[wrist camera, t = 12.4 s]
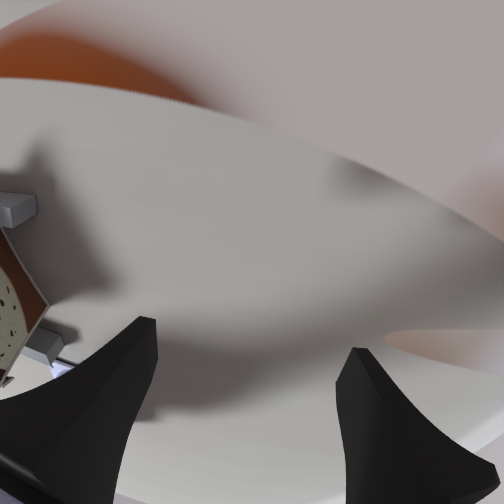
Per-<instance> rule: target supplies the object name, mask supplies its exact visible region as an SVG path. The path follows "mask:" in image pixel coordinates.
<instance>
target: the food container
mask: <svg viewBox="0 0 504 504" xmlns="http://www.w3.org/2000/svg"><path fill="white" fill-rule="evenodd" d="M49 308H50V304H49V303H48V301H47V300H46V299H45V297H44V296H43V294H42V293H41V291H40V290H39V288H38V287H37V285H36V284H35V282H34V280H33V279H32V277H31V276H30V274H29V273H28V271H27V269H26V268H25V266H24V264H23V263H22V261H21V259H20V258H19V256H18V254H17V252H16V251H15V249H14V247H13V245H12V244H11V242H10V240H9V238H8V236H7V234H6V232H5V230H4V229H3V227H2V226H0V388H4V387H5V386H6V385H7V384H9V383H10V382H11V381H12V380H13V379H14V377H7V375H8V373H9V371H10V369H11V368H12V366H13V364H14V362H15V361H16V359H17V357H18V356H19V354H20V352H21V351H22V349H23V347H24V346H25V344H26V343H27V341H28V339H29V338H30V336H31V335H32V333H33V332H34V330H35V328H36V327H37V325H38V324H39V322H40V321H41V319H42V318H43V316H44V315H45V314H46V312H47V311H48V309H49Z"/></svg>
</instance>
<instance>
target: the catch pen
mask: <svg viewBox="0 0 504 504" xmlns="http://www.w3.org/2000/svg"><path fill="white" fill-rule="evenodd" d="M36 214H37V208H36V196H35V195H30V194H19V193H9V192H0V226H2V227H7V228H12V229H13V228H15V227H16V226H18V225H19V224H21V223H23V222H24V221H26V220H28V219H29V218H31V217H33V216H34V215H36ZM63 348H64V343H63V339H62V336H61V335H60V334H57V333H54V332H52V331H49V330H46V329H43V328H41V327H38V326H37V327H36V328H35V330H34V332H33V333H32V335H31V336H30V338H29V339H28V341H27V343H26V344H25V346H24V347H23V349H22V351H21V352H20V353H21V354H23V355H25V356H27V357H30V358H32V359H34V360H37V361H39V362H41V363H44V364H46V365H49V366H51V365H52V363H53V362H54V360H55V359H56V358H57V356H58V355H59V353H60V352H61V350H62V349H63Z"/></svg>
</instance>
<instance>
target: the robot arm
mask: <svg viewBox="0 0 504 504" xmlns="http://www.w3.org/2000/svg"><path fill="white" fill-rule="evenodd" d="M157 361H158V350H157V335H156V319H152V318H147V317H143V316H139V317H138V318H137V319H135V320H134V321H133V322H132V323H131V324H129V325H128V326H127V327H126V328H125V329H124V330H122V331H121V332H120V333H119V334H118V335H117V336H115V337H114V338H113V339H112V340H110V341H109V342H108V343H107V344H105V345H104V346H103V347H102V348H101V349H99V350H98V351H97V352H95V353H94V354H92V355H91V356H90V357H88V358H87V359H86V360H84V361H83V362H81V363H80V364H78V365H77V366H75V367H74V366H71V365H68V364H66V363H63V362H60V361H58V360H54V362H53V363H52V365H51V366H49V367H50V369H51V372H52V374H53V377H54V379H53V380H51V381H49V382H47V383H45V384H43V385H41V386H39V387H37V388H34V389H32V390H29V391H27V392H24V393H22V394H19V395H16V396H13V397H10V398H7V399H3V400H0V504H113V499H114V493H115V488H116V483H117V478H118V474H119V470H120V465H121V461H122V457H123V453H124V450H125V446H126V443H127V439H128V436H129V433H130V430H131V428H132V425H133V423H134V420H135V418H136V416H137V413H138V411H139V409H140V407H141V404H142V402H143V400H144V397H145V395H146V393H147V390H148V388H149V386H150V384H151V381H152V378H153V374H154V371H155V368H156V364H157ZM336 405H337V412H338V418H339V424H340V429H341V435H342V441H343V447H344V453H345V462H346V504H475V503H477V502H478V501H480V500H481V499H483V498H484V497H485V496H487V495H489V494H490V493H491V492H493V491H494V490H495V489H496V488H497V487H498V486H499V485H500V479H499V476H498V474H497V471H496V468H495V465H494V464H492V463H490V462H488V461H486V460H484V459H482V458H480V457H478V456H476V455H474V454H473V453H471V452H469V451H468V450H466V449H465V448H463V447H462V446H460V445H459V444H457V443H456V442H454V441H453V440H452V439H450V438H449V437H448V436H446V435H445V434H444V433H443V432H441V431H440V430H439V429H438V428H437V427H435V426H434V425H433V424H432V423H431V422H430V421H429V420H428V419H427V418H426V417H425V416H424V415H423V414H422V413H421V412H420V411H419V410H418V409H417V408H416V407H415V406H414V405H413V404H412V403H411V402H410V401H409V399H408V398H407V397H406V396H405V395H404V394H403V393H402V391H401V390H400V389H399V388H398V387H397V385H396V384H395V383H394V382H393V380H392V379H391V378H390V376H389V375H388V374H387V373H386V371H385V370H384V369H383V368H382V366H381V365H380V364H379V362H378V361H377V360H376V358H375V357H374V356H373V355H372V353H371V352H370V351H369V350H368V349H367V348H354V347H353V348H352V350H351V352H350V354H349V356H348V359H347V361H346V363H345V365H344V367H343V369H342V371H341V373H340V375H339V377H338V379H337V381H336Z"/></svg>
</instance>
